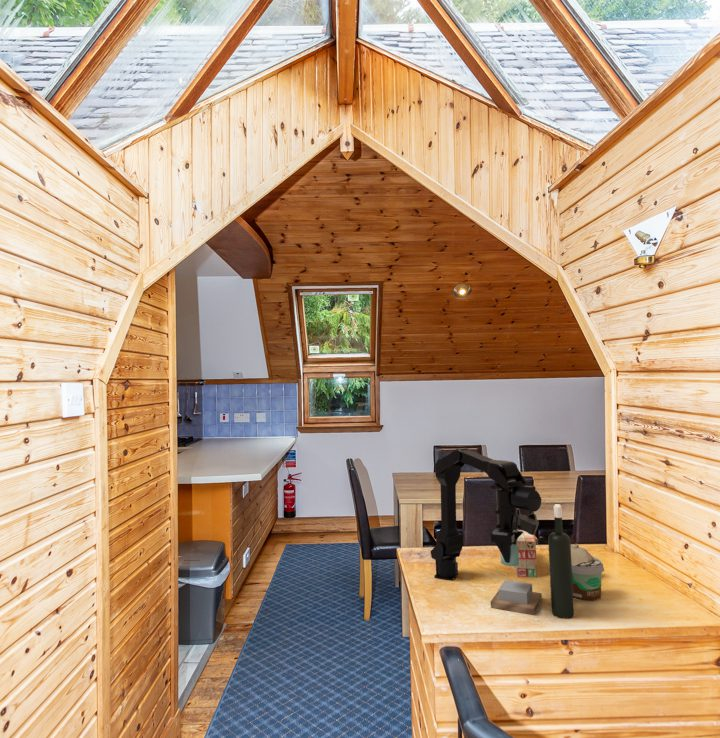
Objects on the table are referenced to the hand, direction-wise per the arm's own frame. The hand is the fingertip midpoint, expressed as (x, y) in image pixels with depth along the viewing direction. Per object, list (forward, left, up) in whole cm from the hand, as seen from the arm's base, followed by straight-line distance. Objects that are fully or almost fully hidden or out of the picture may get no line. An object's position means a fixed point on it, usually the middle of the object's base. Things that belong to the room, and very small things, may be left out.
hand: (509, 559), depth 154 cm
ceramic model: (+14, +33, -13) cm, 38 cm away
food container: (+20, +14, -13) cm, 28 cm away
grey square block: (+1, +1, -11) cm, 11 cm away
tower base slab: (+1, +1, -13) cm, 13 cm away
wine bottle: (+14, -1, -13) cm, 19 cm away
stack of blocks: (-3, +33, -13) cm, 36 cm away
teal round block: (0, 0, -1) cm, 1 cm away
